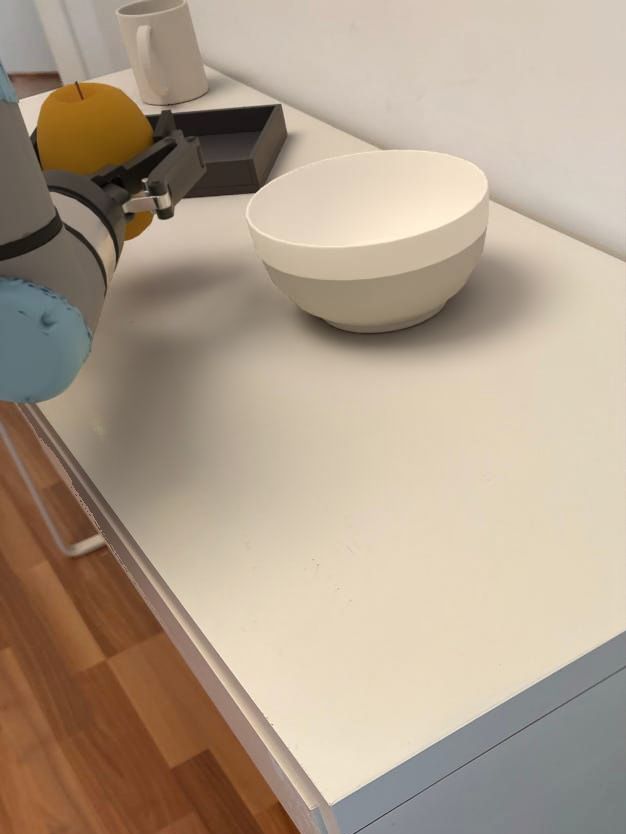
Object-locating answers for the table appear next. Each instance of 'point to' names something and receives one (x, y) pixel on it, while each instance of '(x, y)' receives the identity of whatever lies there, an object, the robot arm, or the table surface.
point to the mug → (163, 50)
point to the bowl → (372, 235)
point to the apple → (93, 134)
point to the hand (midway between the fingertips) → (109, 134)
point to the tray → (233, 146)
